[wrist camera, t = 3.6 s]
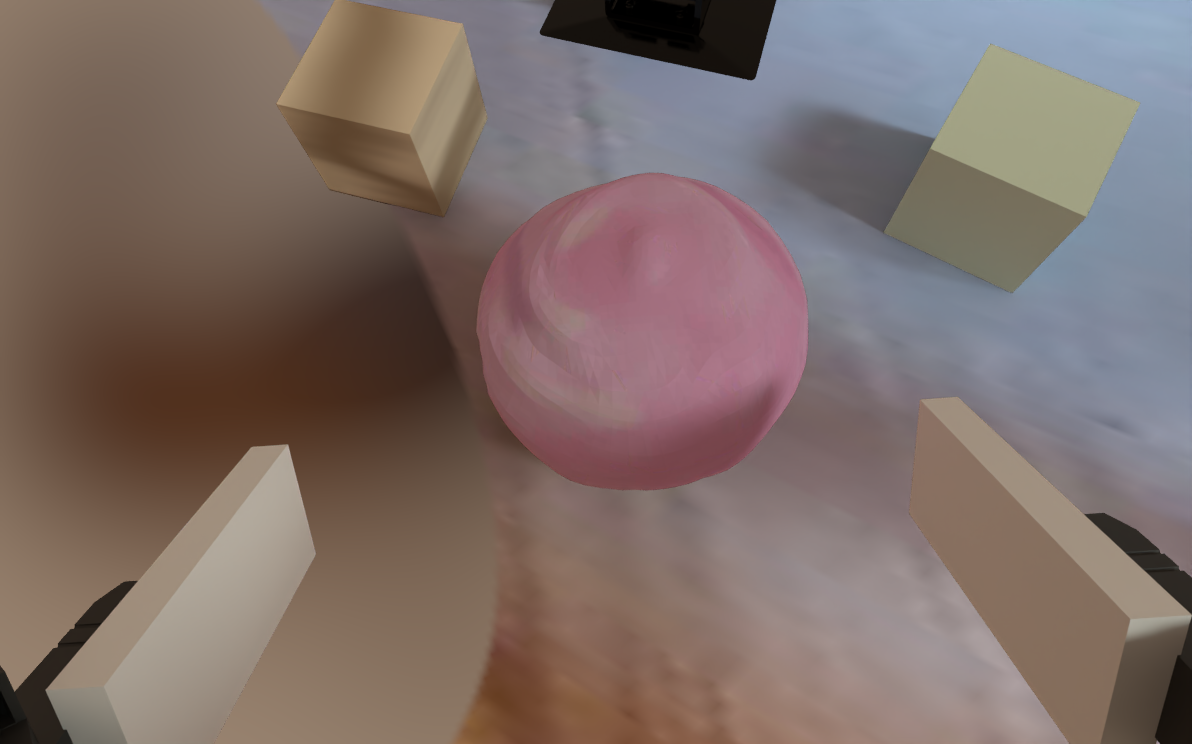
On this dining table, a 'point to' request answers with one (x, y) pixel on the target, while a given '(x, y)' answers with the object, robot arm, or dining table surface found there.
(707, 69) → the black piece
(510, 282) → the cupcake
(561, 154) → the dining table surface
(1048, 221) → the sage block
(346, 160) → the birch block
